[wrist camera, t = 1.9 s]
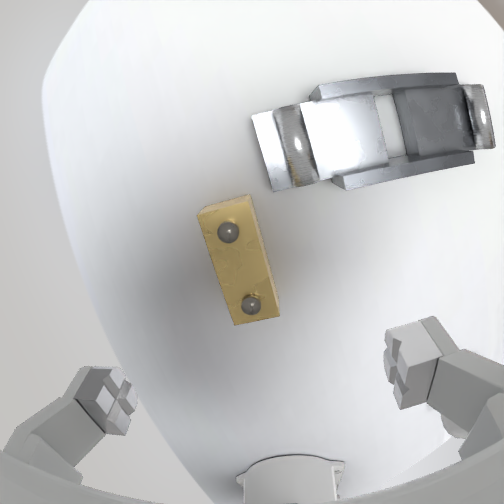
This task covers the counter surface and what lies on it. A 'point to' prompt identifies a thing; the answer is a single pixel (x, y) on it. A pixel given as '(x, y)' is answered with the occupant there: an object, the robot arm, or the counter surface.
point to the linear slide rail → (374, 131)
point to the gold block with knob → (240, 259)
